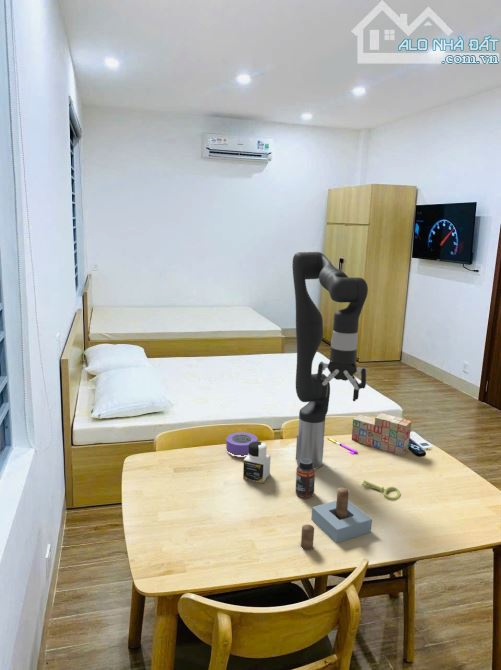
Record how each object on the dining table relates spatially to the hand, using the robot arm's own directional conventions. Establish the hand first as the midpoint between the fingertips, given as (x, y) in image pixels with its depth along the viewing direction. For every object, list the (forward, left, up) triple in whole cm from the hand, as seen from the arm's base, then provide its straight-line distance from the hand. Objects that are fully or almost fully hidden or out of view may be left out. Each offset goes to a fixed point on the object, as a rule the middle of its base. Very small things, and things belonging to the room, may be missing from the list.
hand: (339, 398), depth 148 cm
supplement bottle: (-7, -6, -34) cm, 35 cm away
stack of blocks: (-26, +41, -34) cm, 59 cm away
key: (+2, +18, -34) cm, 39 cm away
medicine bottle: (-23, -15, -34) cm, 43 cm away
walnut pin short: (+16, -20, -34) cm, 42 cm away
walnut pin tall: (+12, -6, -34) cm, 36 cm away
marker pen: (-31, +26, -34) cm, 53 cm away
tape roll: (-43, -11, -34) cm, 56 cm away
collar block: (+12, -6, -34) cm, 36 cm away
